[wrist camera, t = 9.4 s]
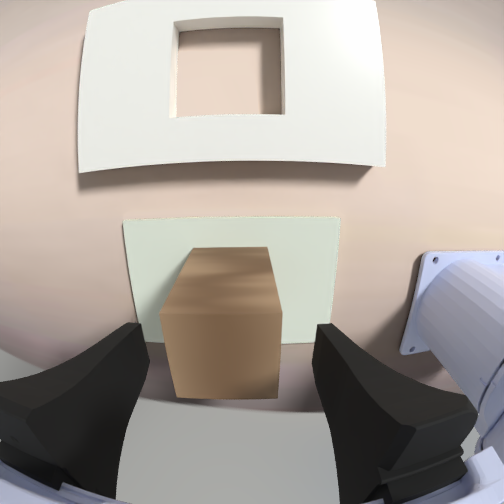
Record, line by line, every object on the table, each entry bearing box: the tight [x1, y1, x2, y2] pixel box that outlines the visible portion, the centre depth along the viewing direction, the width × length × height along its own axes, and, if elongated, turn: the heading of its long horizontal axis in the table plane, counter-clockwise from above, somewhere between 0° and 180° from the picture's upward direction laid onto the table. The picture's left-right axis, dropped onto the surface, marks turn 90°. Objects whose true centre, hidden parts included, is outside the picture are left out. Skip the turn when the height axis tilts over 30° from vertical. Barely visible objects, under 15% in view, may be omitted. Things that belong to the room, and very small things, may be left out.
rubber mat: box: [123, 216, 341, 344], centre depth 17 cm, size 12×8×1 cm, turn 90°
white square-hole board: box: [78, 0, 386, 173], centre depth 12 cm, size 16×10×2 cm, turn 90°
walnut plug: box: [159, 247, 283, 399], centre depth 13 cm, size 4×4×7 cm
